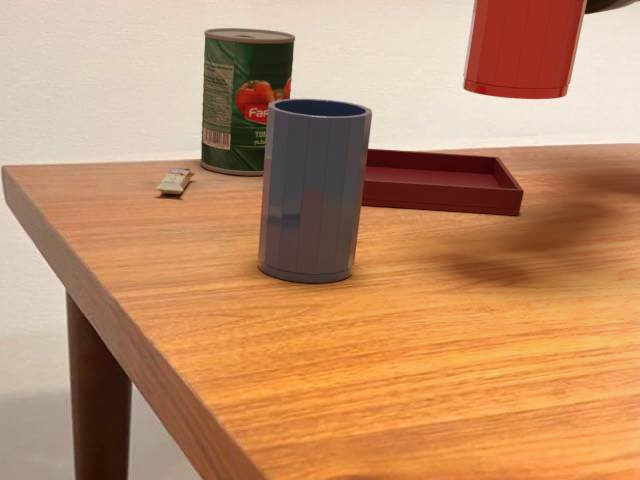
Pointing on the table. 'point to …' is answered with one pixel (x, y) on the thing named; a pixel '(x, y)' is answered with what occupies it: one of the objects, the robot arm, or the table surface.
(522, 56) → the red cup
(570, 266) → the table surface
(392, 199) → the red tray
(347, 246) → the blue cup
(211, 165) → the canned tomato
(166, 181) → the granola bar
